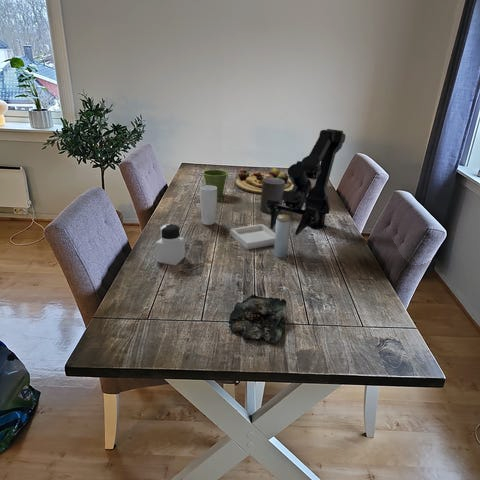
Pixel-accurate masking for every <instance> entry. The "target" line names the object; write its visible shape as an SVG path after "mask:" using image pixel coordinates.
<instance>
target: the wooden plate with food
mask: <svg viewBox="0 0 480 480" xmlns="http://www.w3.org/2000/svg"><path fill="white" fill-rule="evenodd" d="M237 176H238V177H237V178H236V179H235V186H236V187H237V188H238V189H239V190H241V191H244V192H245V193H248V194H249V193H250V194H253V195H259V196H261V194H262V182H263V179H264V178H279V179H282V180H284V181H285V184H284V191H290V190H292V188H293V186H294V185H293V184H292V182H291V180H290V178H289V175H288V173H286V172H284V171H281V172H280V171H279V169H278V168H277V167H275V166H274V167H271V168H270V170H269V172H268V173H266V172H260V171H253V172H252V173H250V172H249V171H248V170H247V169H245V168H241V169H240V170H239V171H238V175H237Z"/></svg>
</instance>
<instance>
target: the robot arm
mask: <svg viewBox="0 0 480 480" xmlns="http://www.w3.org/2000/svg"><path fill="white" fill-rule="evenodd" d="M345 141H346V134H345V133H344V131H343V130H341V129H340V130H338V129H331V128H327V129H321V130H320V131H319V135H318V138H317V139H316V142H315V144H314V145H313V147H312V149H311V151H310V152H309V154H308V155H307V156H305V157H303V158H302V160H301V161H300V160H297V161H296V163H293V164H292V165H290V166H289V167H288V169H287V176H288V178H289V179H290V180H291V182H292V184H293V185H294V186H293V188H292V190H290V191H283V194H282V198H281V200H283V204H284V205H283V204H282V205H280V203H279V201H278V200H274V199H268V200H267V201H266V203H265V205H266V207H267V209H268V210H269V212H270V213H271V214H270V228H269V229H270V230H273V229H274V227H276V219H277V216H278V215H280V213H279V212H280V211H282V212H285V213H286V212H287V213H291V214H295V215H299V216H301V219H300V222H299V224H298V225H297V227H296V229H295V232H294V235H295V236H298V235H300V233H301V232H302V231H304V229H306V228H307V227H310V228H312V229H315V230H316V229H321V228H326V227H327V224H325V222H326V221H325V220H326V215H328V214H330V209H331V205H330V202H329V194H328V191H327V188H328V184H329V179H330V176H331V172H332V170H333V164H334V160H335V157H336V155H337V153H338V152H339V151H340V150H342V148H343V144H344V143H345ZM311 180H315V183H314V186H313V187H312V181H311ZM304 204H305V205H304ZM303 207H305V208H304V209H303Z"/></svg>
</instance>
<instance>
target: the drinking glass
mask: <svg viewBox="0 0 480 480" xmlns="http://www.w3.org/2000/svg"><path fill="white" fill-rule="evenodd" d="M199 202H200V204H199V205H200V212H201V213H200V214H201V224H203V225H204V226H212V225H214V224H215V223H216V211H217V203H218V197H217V187H216V186H212V185H206V184H205V185H201V186H200V187H199Z"/></svg>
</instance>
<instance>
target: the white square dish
mask: <svg viewBox="0 0 480 480" xmlns="http://www.w3.org/2000/svg"><path fill="white" fill-rule="evenodd" d="M229 236H230V237H231V238H233V239H234V240H235V241H236V242H237V243H238V244H239V245H241V247H243V248H244V249H246V251H247V250H254V249H257V248H258V249H259V248H264V247H268V246H274V242H275V232H274V231H273V229H271V228H269V227H268V226H266V225H264V224H263V223H258V224H253V225H247V226H241V227H235V228H234V227H233V228H230V229H229Z"/></svg>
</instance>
